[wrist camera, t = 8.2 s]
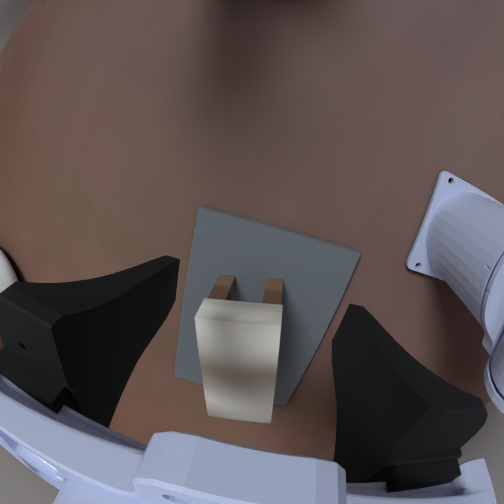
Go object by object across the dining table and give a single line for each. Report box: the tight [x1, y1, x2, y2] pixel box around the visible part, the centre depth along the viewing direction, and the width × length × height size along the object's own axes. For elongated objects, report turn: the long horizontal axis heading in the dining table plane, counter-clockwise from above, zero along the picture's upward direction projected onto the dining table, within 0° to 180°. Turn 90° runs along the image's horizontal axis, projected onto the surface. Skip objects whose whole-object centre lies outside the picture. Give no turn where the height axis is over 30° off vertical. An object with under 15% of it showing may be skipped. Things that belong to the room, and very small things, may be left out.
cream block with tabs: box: [195, 275, 283, 423], centre depth 21 cm, size 10×5×6 cm, turn 179°
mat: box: [174, 206, 360, 406], centre depth 24 cm, size 18×12×1 cm, turn 166°
